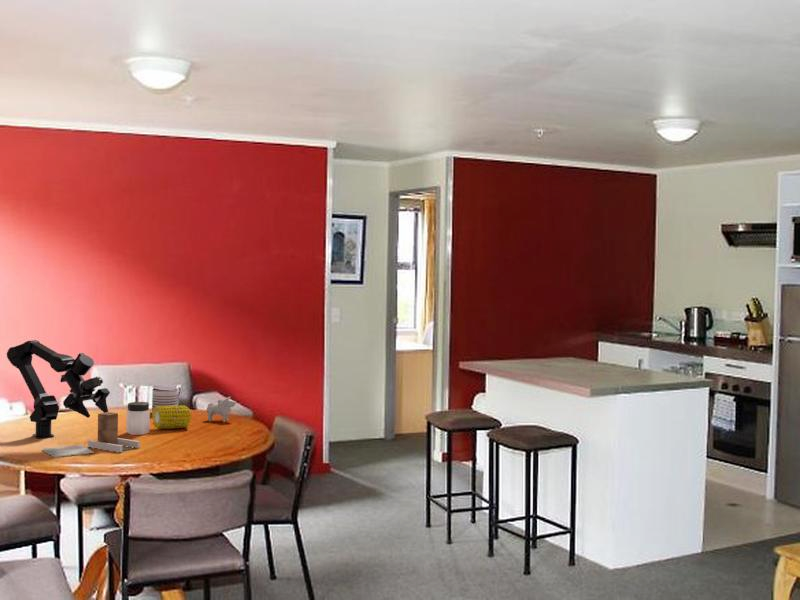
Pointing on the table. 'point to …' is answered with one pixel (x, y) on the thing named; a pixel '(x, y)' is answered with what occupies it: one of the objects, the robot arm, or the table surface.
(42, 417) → the robot arm
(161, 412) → the food
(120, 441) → the channel
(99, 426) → the post
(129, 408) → the jar
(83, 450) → the plate
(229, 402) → the dog figurine
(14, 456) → the table surface
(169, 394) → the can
